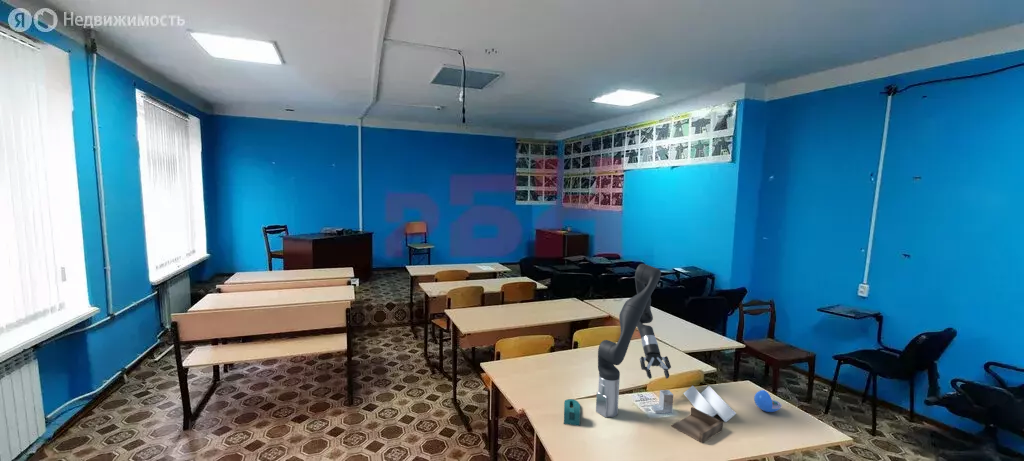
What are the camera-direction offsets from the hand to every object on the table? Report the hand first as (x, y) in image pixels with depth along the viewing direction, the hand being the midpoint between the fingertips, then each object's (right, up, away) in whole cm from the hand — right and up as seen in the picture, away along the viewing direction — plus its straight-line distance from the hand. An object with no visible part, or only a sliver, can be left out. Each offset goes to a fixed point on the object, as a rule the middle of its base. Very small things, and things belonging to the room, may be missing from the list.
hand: (659, 378), depth 194 cm
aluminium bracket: (-1, -13, -7) cm, 15 cm away
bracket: (-44, -13, -11) cm, 47 cm away
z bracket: (+22, -13, -3) cm, 26 cm away
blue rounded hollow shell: (+50, -14, -4) cm, 52 cm away
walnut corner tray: (+9, -14, -21) cm, 26 cm away
